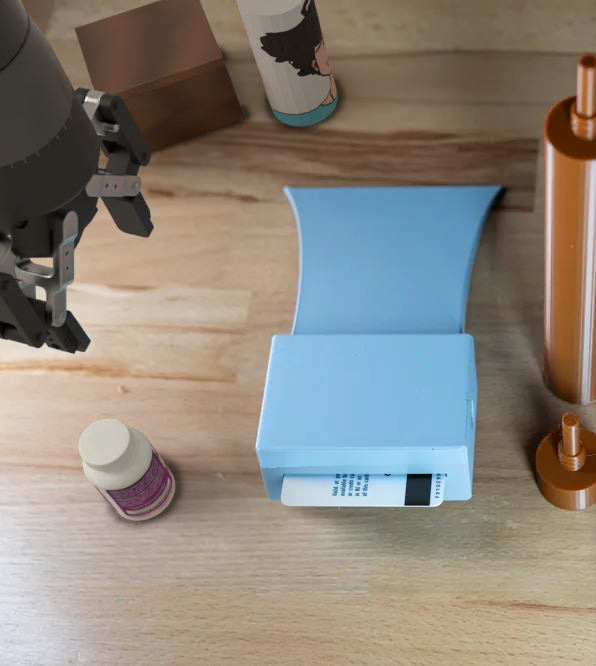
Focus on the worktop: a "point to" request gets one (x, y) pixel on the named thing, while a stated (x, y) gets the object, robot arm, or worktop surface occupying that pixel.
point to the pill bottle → (126, 469)
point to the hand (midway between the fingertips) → (106, 286)
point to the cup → (291, 58)
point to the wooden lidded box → (162, 69)
